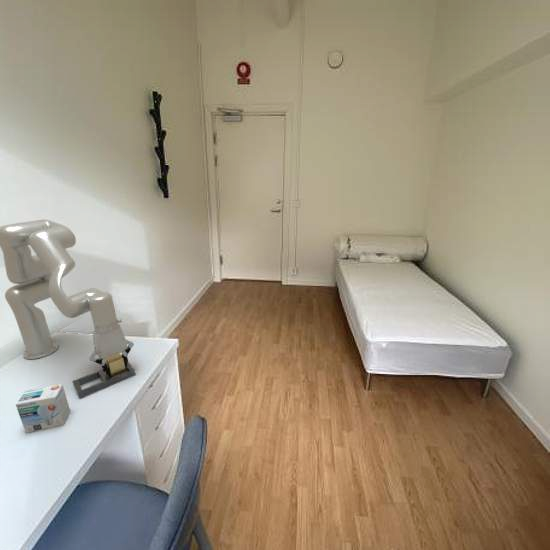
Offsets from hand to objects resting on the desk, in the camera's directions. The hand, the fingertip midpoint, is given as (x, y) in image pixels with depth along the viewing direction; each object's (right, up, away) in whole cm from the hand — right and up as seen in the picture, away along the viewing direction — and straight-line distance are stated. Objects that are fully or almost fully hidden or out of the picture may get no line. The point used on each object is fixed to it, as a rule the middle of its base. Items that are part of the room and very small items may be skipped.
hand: (116, 368), depth 121 cm
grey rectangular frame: (-3, -4, -2) cm, 6 cm away
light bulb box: (-11, -11, -20) cm, 26 cm away
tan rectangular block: (0, -3, +1) cm, 3 cm away
